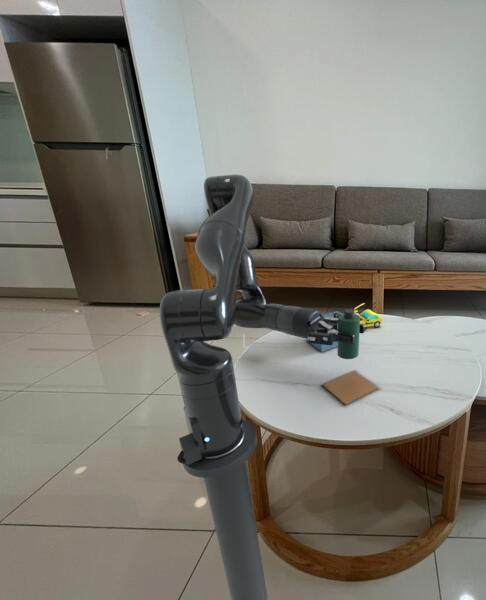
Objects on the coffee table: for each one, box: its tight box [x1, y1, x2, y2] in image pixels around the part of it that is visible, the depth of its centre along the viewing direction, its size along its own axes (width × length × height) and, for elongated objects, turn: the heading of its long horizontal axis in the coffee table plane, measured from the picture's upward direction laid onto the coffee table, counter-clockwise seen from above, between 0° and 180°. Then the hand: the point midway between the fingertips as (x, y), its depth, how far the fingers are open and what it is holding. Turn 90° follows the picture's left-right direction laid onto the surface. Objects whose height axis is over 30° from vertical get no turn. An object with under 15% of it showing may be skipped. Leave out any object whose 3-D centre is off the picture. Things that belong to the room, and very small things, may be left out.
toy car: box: [353, 302, 383, 328], centre depth 117 cm, size 12×8×8 cm, turn 120°
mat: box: [322, 371, 378, 406], centre depth 84 cm, size 10×10×1 cm
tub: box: [306, 310, 343, 353], centre depth 106 cm, size 13×10×8 cm
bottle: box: [337, 308, 360, 360], centre depth 78 cm, size 5×5×12 cm
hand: (358, 334), depth 78 cm, fingers closed on bottle, 5 cm apart
